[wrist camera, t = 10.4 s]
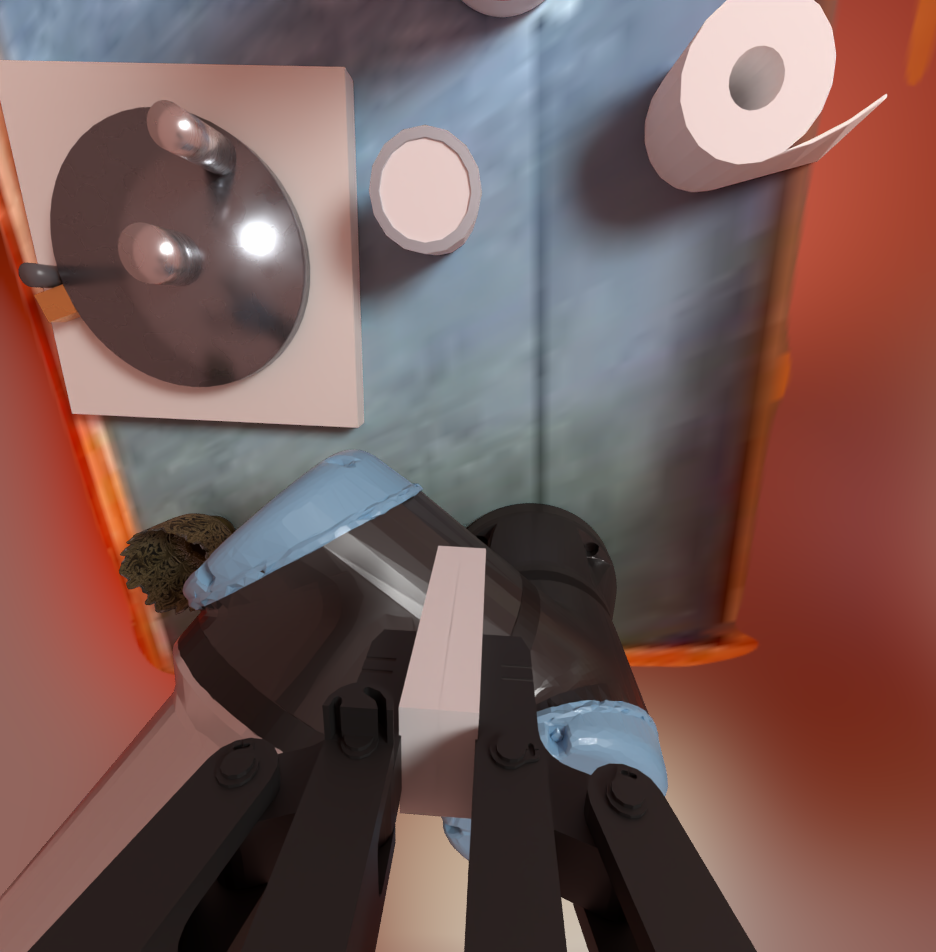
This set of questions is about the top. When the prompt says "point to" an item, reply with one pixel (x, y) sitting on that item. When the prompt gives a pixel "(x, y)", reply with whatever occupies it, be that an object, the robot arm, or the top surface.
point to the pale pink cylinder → (426, 190)
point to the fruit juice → (502, 6)
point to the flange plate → (219, 226)
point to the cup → (172, 557)
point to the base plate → (293, 162)
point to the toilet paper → (745, 96)
